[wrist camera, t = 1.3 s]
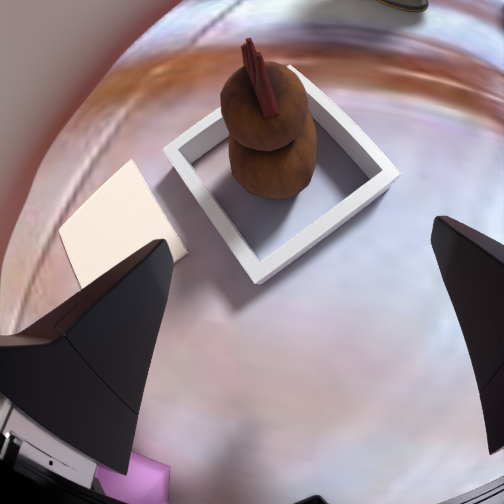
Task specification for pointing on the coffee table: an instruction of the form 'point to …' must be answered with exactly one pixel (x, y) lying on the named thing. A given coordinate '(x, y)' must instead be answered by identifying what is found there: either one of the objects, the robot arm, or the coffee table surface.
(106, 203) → the tile
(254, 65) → the wooden figurine
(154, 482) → the teapot
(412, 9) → the apothecary jar
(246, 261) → the white square tray
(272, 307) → the coffee table surface
